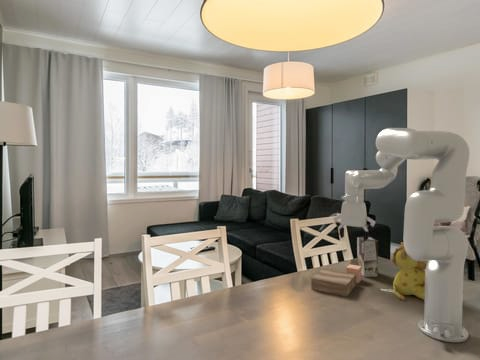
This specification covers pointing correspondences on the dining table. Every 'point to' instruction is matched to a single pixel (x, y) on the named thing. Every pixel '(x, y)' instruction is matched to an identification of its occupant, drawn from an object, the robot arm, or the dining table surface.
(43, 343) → the dining table surface
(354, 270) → the terracotta block
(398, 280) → the giraffe plush
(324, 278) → the walnut base
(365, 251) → the coffee box
